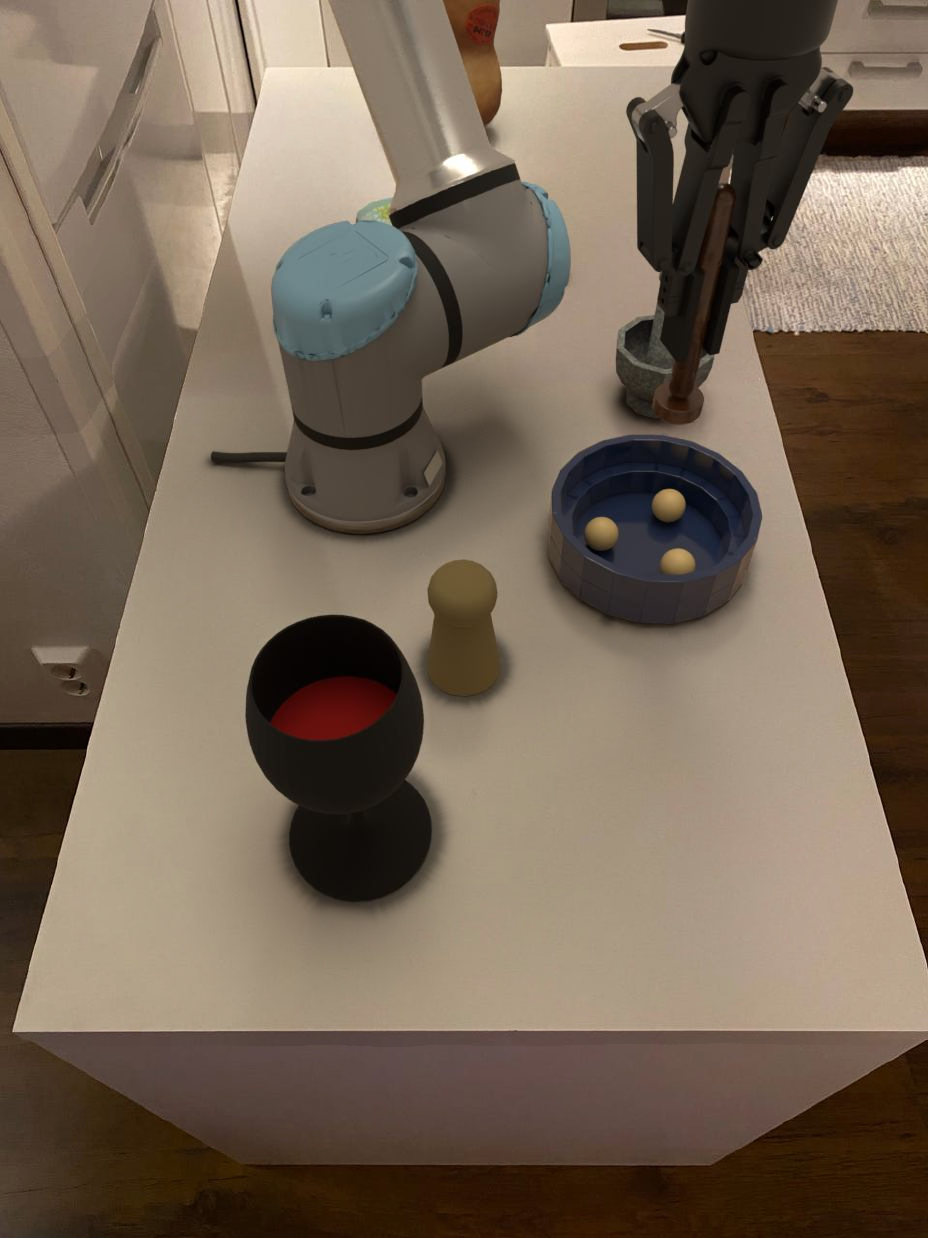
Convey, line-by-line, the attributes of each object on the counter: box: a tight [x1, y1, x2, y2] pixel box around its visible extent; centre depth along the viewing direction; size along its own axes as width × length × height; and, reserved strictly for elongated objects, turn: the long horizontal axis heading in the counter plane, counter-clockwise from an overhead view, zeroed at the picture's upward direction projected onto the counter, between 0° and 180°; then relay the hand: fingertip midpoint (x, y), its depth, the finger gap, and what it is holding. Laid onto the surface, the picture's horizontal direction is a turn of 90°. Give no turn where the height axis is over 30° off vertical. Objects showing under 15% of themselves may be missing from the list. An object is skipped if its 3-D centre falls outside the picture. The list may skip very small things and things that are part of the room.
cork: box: [426, 559, 502, 697], centre depth 73 cm, size 6×6×11 cm
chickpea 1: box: [584, 517, 618, 551], centre depth 84 cm, size 3×3×3 cm
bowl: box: [547, 434, 763, 625], centre depth 83 cm, size 18×18×6 cm
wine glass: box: [244, 614, 433, 902], centre depth 61 cm, size 10×10×20 cm
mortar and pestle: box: [615, 272, 716, 419], centre depth 94 cm, size 11×9×12 cm
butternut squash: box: [443, 0, 503, 128], centre depth 125 cm, size 14×13×25 cm
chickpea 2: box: [652, 489, 686, 522], centre depth 86 cm, size 3×3×3 cm
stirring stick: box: [652, 181, 736, 425], centre depth 63 cm, size 4×4×17 cm
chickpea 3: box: [660, 548, 696, 575], centre depth 81 cm, size 3×3×3 cm
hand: (689, 346), depth 66 cm, fingers closed on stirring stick, 2 cm apart
